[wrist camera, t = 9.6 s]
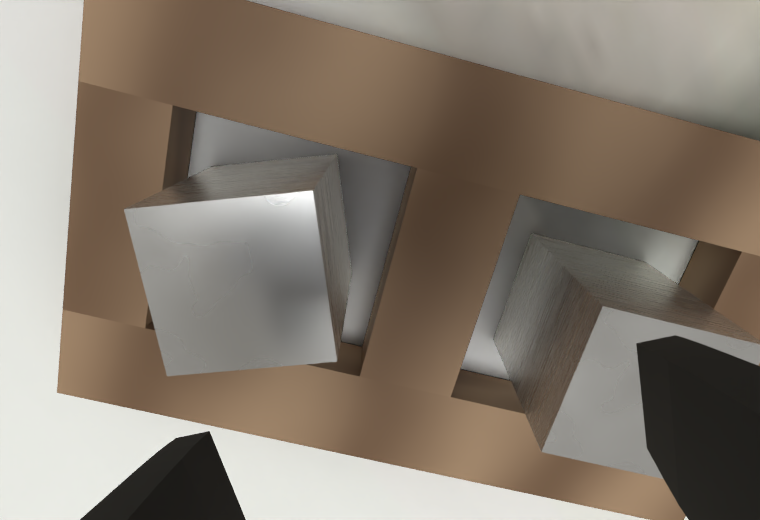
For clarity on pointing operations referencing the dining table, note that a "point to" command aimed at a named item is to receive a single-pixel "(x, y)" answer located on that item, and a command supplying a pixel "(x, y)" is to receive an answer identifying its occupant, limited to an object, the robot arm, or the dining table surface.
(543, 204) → the dining table surface
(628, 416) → the block
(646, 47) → the dining table surface
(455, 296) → the brown board with cutouts
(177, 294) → the steel billet
